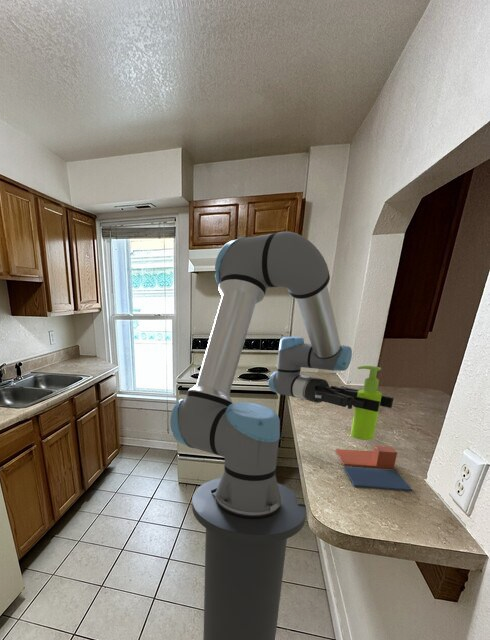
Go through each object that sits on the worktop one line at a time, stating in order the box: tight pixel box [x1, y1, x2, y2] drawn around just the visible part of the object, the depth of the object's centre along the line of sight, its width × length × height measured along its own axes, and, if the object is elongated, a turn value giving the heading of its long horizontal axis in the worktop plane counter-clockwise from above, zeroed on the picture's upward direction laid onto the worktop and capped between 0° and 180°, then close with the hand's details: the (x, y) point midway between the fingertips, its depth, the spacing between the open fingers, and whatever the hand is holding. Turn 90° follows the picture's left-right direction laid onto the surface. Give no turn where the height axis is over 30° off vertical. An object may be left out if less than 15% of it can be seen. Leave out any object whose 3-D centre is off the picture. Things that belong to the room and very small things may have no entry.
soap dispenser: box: [350, 365, 383, 441], centre depth 99 cm, size 6×7×20 cm
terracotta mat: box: [335, 448, 395, 470], centre depth 105 cm, size 13×11×1 cm
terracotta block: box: [371, 445, 398, 467], centre depth 100 cm, size 4×4×4 cm
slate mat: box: [343, 466, 413, 492], centre depth 93 cm, size 13×11×1 cm
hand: (385, 404), depth 94 cm, fingers closed on soap dispenser, 6 cm apart
